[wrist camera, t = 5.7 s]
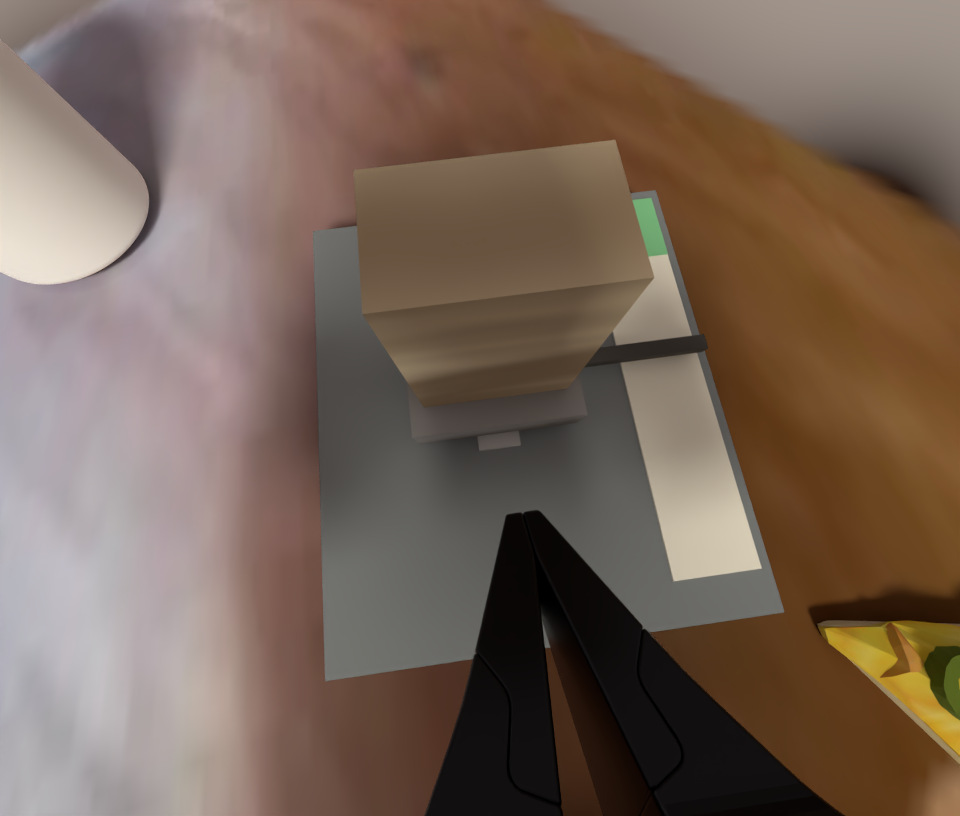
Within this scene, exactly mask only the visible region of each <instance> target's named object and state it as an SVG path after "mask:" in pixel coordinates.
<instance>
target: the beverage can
mask: <svg viewBox="0 0 960 816" xmlns="http://www.w3.org/2000/svg"><path fill="white" fill-rule="evenodd" d="M148 209H149V194H148V189H147V186H146V183H145V181H144V179H143V177H142V175H141V174H140V172H139V171H138V170H137V169H136V167H135V166H134V165H133V164H132V163H130V162H129V161H128V160H127V159H126V158H125V157H124V156H123V155H122V154H121V153H120V152H119V151H118V150H117V149H116V148H115V147H114V146H113V145H112V144H110V143H109V142H108V141H107V140H106V139H105V138H104V137H103V136H102V135H101V134H100V133H99V132H98V131H97V130H96V129H95V128H94V127H93V126H91V125H90V124H89V123H88V122H87V121H86V120H85V119H84V118H83V117H82V116H81V115H80V114H79V113H78V112H77V111H76V110H75V109H74V108H73V107H71V106H70V105H69V104H68V103H67V102H66V101H65V100H64V99H63V98H62V97H61V96H60V95H59V94H58V93H57V92H56V91H55V90H54V89H52V88H51V87H50V86H49V85H48V84H47V83H46V82H45V81H44V80H43V79H42V78H41V77H40V76H39V75H38V74H37V73H36V72H35V71H34V70H32V69H31V68H30V67H29V66H28V65H27V64H26V63H25V62H24V61H23V60H22V59H21V58H20V57H19V56H18V55H17V54H16V53H15V52H13V51H12V50H11V49H10V48H9V47H8V46H7V45H6V44H5V43H4V42H3V41H2V40H1V39H0V272H1V273H3V274H6V275H8V276H10V277H12V278H15V279H17V280H20V281H23V282H28V283H33V284H60V283H66V282H71V281H75V280H78V279H82V278H84V277H87V276H89V275H92V274H94V273H96V272H98V271H100V270H102V269H103V268H105V267H107V266H108V265H110V264H111V263H112V262H114V261H115V260H116V259H118V258H119V257H120V256H121V255H122V254H123V253H124V252H125V251H126V250H127V249H128V248H129V247H130V246H131V245H132V244H133V242H134V241H135V240H136V238H137V237H138V235H139V234H140V232H141V230H142V228H143V226H144V223H145V221H146V218H147V214H148Z"/></svg>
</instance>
